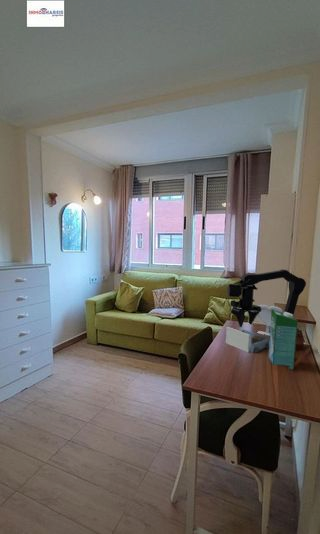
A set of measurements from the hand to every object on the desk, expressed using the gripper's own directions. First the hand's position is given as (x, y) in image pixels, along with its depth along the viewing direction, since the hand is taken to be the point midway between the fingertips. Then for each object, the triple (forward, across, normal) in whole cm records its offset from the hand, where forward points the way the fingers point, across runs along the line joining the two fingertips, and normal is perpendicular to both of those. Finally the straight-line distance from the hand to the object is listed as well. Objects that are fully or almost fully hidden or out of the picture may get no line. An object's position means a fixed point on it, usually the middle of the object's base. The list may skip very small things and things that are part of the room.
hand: (245, 325), depth 135 cm
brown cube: (+10, -4, +5) cm, 12 cm away
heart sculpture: (+12, -30, -5) cm, 33 cm away
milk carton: (+12, +2, +21) cm, 25 cm away
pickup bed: (+12, -2, 0) cm, 12 cm away
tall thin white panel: (+10, +7, 0) cm, 13 cm away
